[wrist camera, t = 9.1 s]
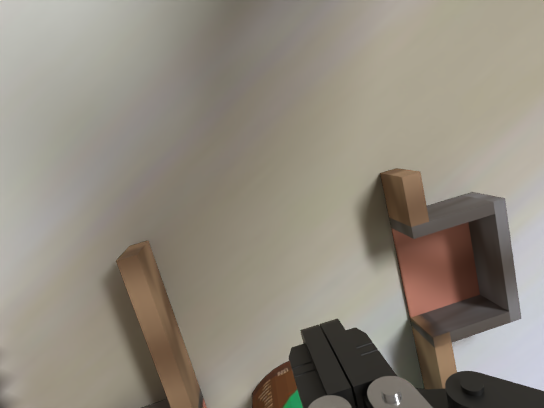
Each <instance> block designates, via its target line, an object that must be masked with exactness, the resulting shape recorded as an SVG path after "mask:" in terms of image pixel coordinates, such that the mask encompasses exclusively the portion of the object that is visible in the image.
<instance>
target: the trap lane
mask: <svg viewBox="0 0 544 408" xmlns="http://www.w3.org/2000/svg"><path fill="white" fill-rule="evenodd" d="M380 175H381V180H382V185H383V190H384V194H385V199H386V204H387V209H388V214H389V219H390V224H391V228H392V233H393V238H394V243H395V248H396V253H397V258H398V262H399V267H400V272H401V277H402V282H403V287H404V292H405V297H406V301H407V306H408V311H409V316H410V321H411V326H412V331H413V335H414V340H415V345H416V350H417V355H418V360H419V365H420V369H421V374H422V379H423V384H424V389H444V388H445V383H446V380H447V379H448V377H450V376H451V375H452V374H454V373H457V370H456V365H455V359H454V354H453V348H452V342H454V341H457V340H460V339H463V338H466V337H469V336H472V335H475V334H478V333H481V332H484V331H487V330H490V329H493V328H495V327H498V326H501V325H504V324H507V323H510V322H513V321H516V320H519V319H521V312H520V305H519V298H518V290H517V283H516V276H515V268H514V261H513V254H512V247H511V239H510V232H509V225H508V217H507V210H506V203H505V198H501V197H495V196H490V195H485V194H480V193H475V192H471V193H468V194H464V195H461V196H458V197H455V198H451V199H448V200H445V201H441V202H438V203H435V204H431V205H428V206H426V201H425V195H424V190H423V184H422V179H421V173H420V172H419V171H412V170H404V169H397V168H396V169H393V170H389V171H386V172H382V173H380ZM116 262H117V265H118V267H119V270H120V273H121V276H122V278H123V281H124V284H125V286H126V289H127V292H128V294H129V297H130V300H131V302H132V305H133V308H134V310H135V313H136V316H137V318H138V321H139V324H140V326H141V329H142V332H143V334H144V337H145V340H146V342H147V345H148V348H149V350H150V353H151V356H152V358H153V361H154V364H155V367H156V369H157V372H158V375H159V377H160V380H161V383H162V385H163V388H164V391H165V393H166V396H167V399H166V400H163V401H160V402H157V403H154V404H151V405H148V406H145V407H142V408H207V407H206V404H205V401H204V399H203V396H202V393H201V390H200V387H199V384H198V381H197V379H196V376H195V373H194V370H193V367H192V364H191V361H190V359H189V356H188V353H187V350H186V347H185V344H184V341H183V339H182V336H181V333H180V330H179V327H178V324H177V321H176V319H175V316H174V313H173V310H172V307H171V304H170V301H169V299H168V296H167V293H166V290H165V287H164V284H163V281H162V279H161V276H160V273H159V270H158V267H157V264H156V261H155V259H154V256H153V253H152V250H151V247H150V244H149V241H145V242H141V243H138V244H134V245H131V246H129V247H128V248H127V249H126V250H125V252H124V253H123V254H122V255H121V256H120V257H119V258H118V259H117V260H116Z"/></svg>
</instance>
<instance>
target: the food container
mask: <svg viewBox="0 0 544 408" xmlns="http://www.w3.org/2000/svg"><path fill="white" fill-rule="evenodd" d="M252 408H303V407H302V403H301V400H300V397H299V393H298V390H297V386H296V382H295V379H294V375H293V371H292V368H291V364H290V361H288V362H286V363H283V364H282V365H280V366H278V367H277V368H275V369H274V370H272V371H271V372H270V373H269V374H268V375H266V376H265V377H264V379H263V380H262V381H261V382H260V383H259V384H258V386H257V387H256V389H255V390H254V392H253V393H252Z"/></svg>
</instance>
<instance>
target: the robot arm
mask: <svg viewBox="0 0 544 408" xmlns="http://www.w3.org/2000/svg"><path fill="white" fill-rule="evenodd" d="M301 335H302V339H303V343H304V344H302V345H298V346H295V347H292V348H291V352H290V355H289V360H290V364H291V368H292V371H293V375H294V379H295V382H296V386H297V390H298V393H299V397H300V400H301V403H302V407H303V408H544V391H541V390H538V389H534V388H531V387H527V386H524V385H520V384H517V383H513V382H510V381H506V380H503V379H499V378H496V377H492V376H489V375H485V374H482V373H478V372H473V371H461V372H457V373H454V374H452V375H451V376H450V377H448V379H447V380H446V383H445V388H444V389H419V388H415V387H414V386H413V385H412V384H411V383H410V382H409V381H407V380H405V379H403V378H401V377H397V375H396V374H395V372H394V371H393V370H392V368H391V367H390V366H389V364H388V363H387V361H386V360H385V359H384V357H383V356H382V355H381V353H380V352H379V351H378V350H377V348H376V346H375V345H374V344H373V343H372V341H371V340H370V338H369V337H368V335H367V334H366V333H364V332H363V331H361V330H359V329H357V328H352V329H349V330H345V329H344V327H343V326H342V324H341V323H340V321H339V320H338V319H335V320H332V321H328V322H325V323H322V324H320V326H319V325H316V326H313V327H309V328H306V329H303V330H301Z"/></svg>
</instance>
